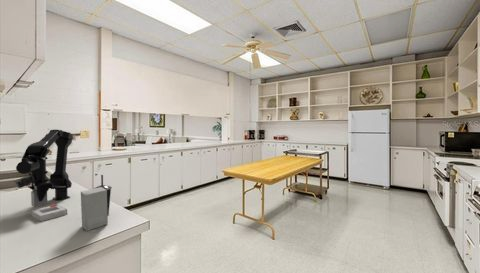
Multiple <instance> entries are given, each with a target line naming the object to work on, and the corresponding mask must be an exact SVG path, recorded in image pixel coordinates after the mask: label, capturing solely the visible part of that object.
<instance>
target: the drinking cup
mask: <svg viewBox="0 0 480 273" xmlns="http://www.w3.org/2000/svg"><path fill="white" fill-rule="evenodd" d="M100 176H101V177H100V179H101V181H100V182H101V183H100V184H101V185H98V186H95V187H93V188H92V189H95V188H100V187H102V188H104V189H105V190H107V214H108V216H110V215H109V214H110V204H111V203H110V202H111V193H112V191H111V190H112V186H111V185H106V184H105V185H104V175H103V174H101V175H100Z"/></svg>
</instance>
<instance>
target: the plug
mask: <svg viewBox="0 0 480 273" xmlns="http://www.w3.org/2000/svg"><path fill="white" fill-rule="evenodd" d="M30 197H31V198H30V199H31V201H30V202H31V203H30V205H31V206H32V207H33V208H37V207H41V206H45V205H48V192H47V193H46V195H45V197H44V199H43V200H42V201H40V202H39V199H38V195H37V192H36V191H30Z"/></svg>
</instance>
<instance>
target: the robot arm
mask: <svg viewBox="0 0 480 273" xmlns="http://www.w3.org/2000/svg"><path fill="white" fill-rule="evenodd" d="M73 139H74V135H73V133H71V132H69V131H64V130H62V129H50V130H49V132H48V133H47V134H46V135H45V136H43V137H42V138H41V139H40V140H39V141H35V142H33V143H30V144H29V145H28V146H27V148H26V149H25V151H24V153H23V155H22V158H21V161H20V162H18V163H17V165H16V166H15V170H16V171H17V173H18V174H22V175H25V174H27V175H26V176H23V177H20V178H17V179H16V180H13V183H14V184H15V186H16V188H18V189H21V188H23V187H25V186H26V187H27V188H28V189H30V190H32V191H36V192H37V195H38V199H39V202H40V201H42V200H43V199H44V197H45V195H46V193H47V194H48V191H49V190H54V196H55V197H52V199H53V200H54V201H60V200H64V199H70V198H71V196H69V195H68V189H69V188H72V186H73V185H72V184H73V183H72V181H71V180H70V178H69V173H67V160H68V151H69V150H68V148H69V147H70V145H72V143H73ZM54 144H55V145H56V147H57V151H56V159H55V168H54V172H53V173H51V174H50V175H49V179H48V178H47V174H48V171H47V162H46V160H48V159H49V158H48V157H47V155H48V154H49V153H50V151H51V150H50V147H51V146H52V145H54ZM32 191H31V192H32Z"/></svg>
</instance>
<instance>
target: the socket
mask: <svg viewBox="0 0 480 273" xmlns="http://www.w3.org/2000/svg"><path fill="white" fill-rule="evenodd" d="M30 212H31V216H32V217H33V218H34V219H36V220H37V221H39V222H44V221H47V220H51V219H54V218H58V217H62V216H66V215H68V208H66V207H64V206H62V205H59V204H57V203H55V204H50V205H49V206H44V207H40V208H36V209H31V211H30Z"/></svg>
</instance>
